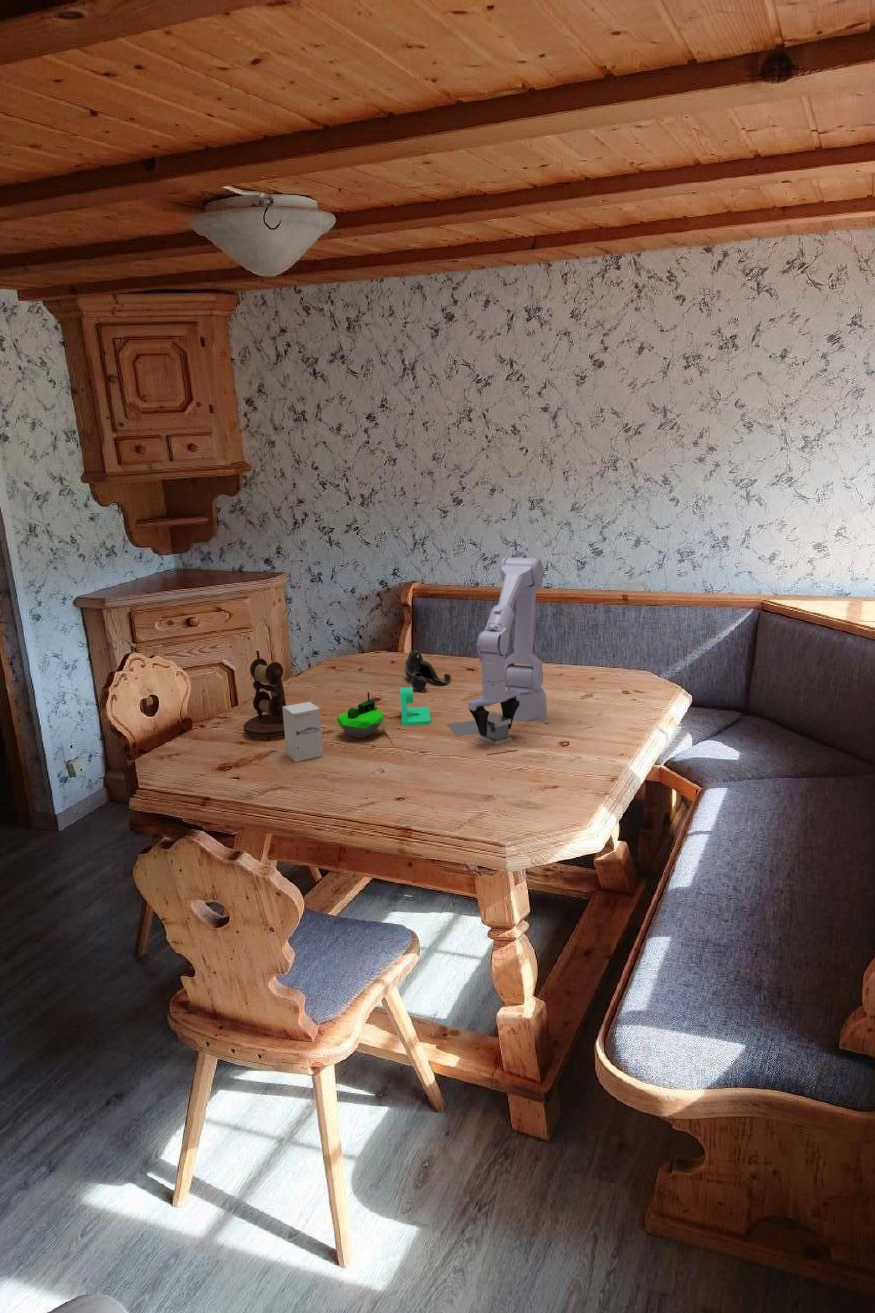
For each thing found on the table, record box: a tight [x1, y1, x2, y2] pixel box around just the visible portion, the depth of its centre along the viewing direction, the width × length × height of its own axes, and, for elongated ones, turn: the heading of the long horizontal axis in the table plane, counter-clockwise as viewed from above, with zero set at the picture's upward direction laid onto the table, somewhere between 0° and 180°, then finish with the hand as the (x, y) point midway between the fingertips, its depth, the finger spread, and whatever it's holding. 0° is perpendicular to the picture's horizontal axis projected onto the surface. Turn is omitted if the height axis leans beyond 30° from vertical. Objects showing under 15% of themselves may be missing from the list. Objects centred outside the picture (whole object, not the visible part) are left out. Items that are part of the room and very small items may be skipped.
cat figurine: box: [404, 649, 452, 694], centre depth 285 cm, size 10×14×18 cm
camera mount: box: [399, 686, 432, 727], centre depth 249 cm, size 12×8×10 cm, turn 3°
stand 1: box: [445, 719, 479, 737], centre depth 240 cm, size 8×10×2 cm
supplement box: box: [282, 701, 324, 763], centre depth 228 cm, size 7×7×13 cm
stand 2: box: [474, 735, 519, 756], centre depth 230 cm, size 8×10×2 cm
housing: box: [477, 711, 512, 747], centre depth 229 cm, size 5×7×6 cm
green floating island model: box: [336, 691, 384, 739], centre depth 241 cm, size 12×12×11 cm
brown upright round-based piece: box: [242, 657, 287, 742], centre depth 245 cm, size 15×15×20 cm
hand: (495, 731), depth 229 cm, fingers open, 7 cm apart
